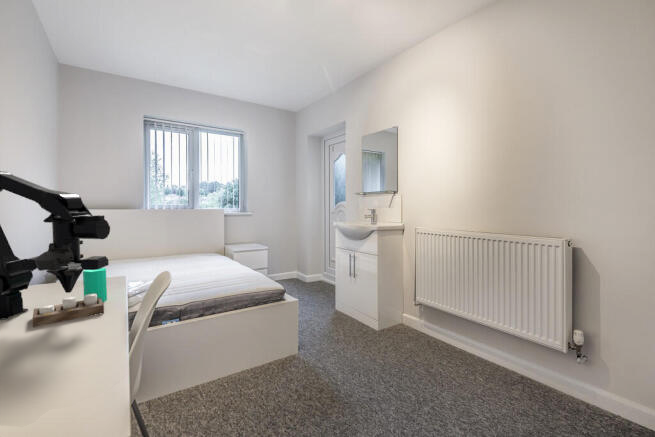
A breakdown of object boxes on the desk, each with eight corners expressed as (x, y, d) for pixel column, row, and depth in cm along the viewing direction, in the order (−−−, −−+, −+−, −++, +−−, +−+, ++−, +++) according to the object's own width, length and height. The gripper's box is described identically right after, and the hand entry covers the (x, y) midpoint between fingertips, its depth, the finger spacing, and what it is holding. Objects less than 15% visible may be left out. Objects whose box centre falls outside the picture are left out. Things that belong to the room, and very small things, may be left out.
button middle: (63, 312, 84) (62, 301, 84) (62, 309, 86) (62, 298, 86) (76, 309, 86) (76, 299, 86) (76, 306, 88) (75, 296, 88)
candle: (94, 305, 94) (93, 267, 94) (79, 303, 96) (77, 266, 95) (111, 298, 100) (110, 263, 99) (96, 297, 102) (95, 262, 101)
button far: (84, 308, 87) (84, 297, 87) (84, 305, 90) (83, 294, 89) (97, 306, 89) (97, 295, 89) (96, 303, 92) (96, 292, 91)
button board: (33, 327, 78) (32, 317, 78) (34, 317, 84) (33, 308, 84) (104, 313, 89) (103, 304, 88) (100, 305, 94) (100, 297, 94)
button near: (39, 321, 81) (39, 310, 81) (39, 318, 83) (39, 306, 83) (54, 318, 83) (54, 307, 83) (54, 315, 85) (54, 304, 85)
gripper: (2, 242, 75) (5, 303, 77) (83, 243, 78) (85, 302, 79) (38, 236, 86) (41, 289, 88) (108, 237, 89) (110, 288, 90)
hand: (68, 292), depth 86 cm, fingers closed
